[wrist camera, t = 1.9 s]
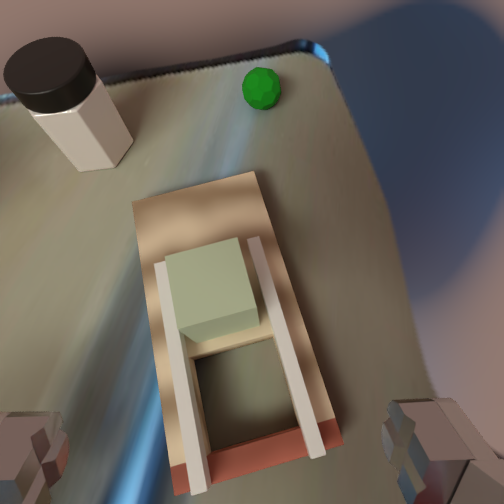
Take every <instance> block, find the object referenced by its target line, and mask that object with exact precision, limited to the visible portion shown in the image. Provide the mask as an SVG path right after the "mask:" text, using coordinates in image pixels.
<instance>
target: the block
mask: <svg viewBox="0 0 504 504" xmlns="http://www.w3.org/2000/svg"><path fill="white" fill-rule="evenodd" d="M165 262H166V267H167V273H168V278H169V284H170V290H171V295H172V301H173V307H174V312H175V318H176V324H177V329H178V330H179V331H181V332H182V333H183V334H185V335H186V336H187V337H189V338H190V339H191V340H193V341H194V342H196V343H200V342H204V341H207V340H211V339H215V338H218V337H222V336H225V335H229V334H232V333H236V332H240V331H243V330H247V329H250V328H254V327H257V326H260V324H259V318H258V312H257V306H256V303H255V299H254V296H253V292H252V288H251V285H250V281H249V278H248V274H247V271H246V267H245V263H244V260H243V256H242V253H241V249H240V245H239V242H238V238H237V237H236V238H232V239H228V240H224V241H220V242H217V243H213V244H209V245H205V246H202V247H198V248H194V249H190V250H186V251H183V252H179V253H175V254H171V255H168V256H165Z"/></svg>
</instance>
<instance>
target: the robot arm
mask: <svg viewBox="0 0 504 504" xmlns="http://www.w3.org/2000/svg"><path fill="white" fill-rule="evenodd" d="M387 411H388V413H389V416H390V417H389V418H388V419H387V420H386V421H385V422H384V423H383V427H382V432H381V433H382V444H383V448H384V451H385V454H386V457H387V459H388V461H389V463H390V464H391V465H392V466H393V467H394V468H396V469H397V470H398V471H399V475H398V480H397V482H398V484H399V487H400V489H401V491H402V493H403V496H404V498H405V500H406V502H407V504H504V459H498V457H497V456H496V455H495V453H494V452H493V451H492V449H491V448H490V447H489V445H488V444H487V443H486V441H485V440H484V439H483V437H482V436H481V435H480V433H479V432H478V431H477V430H476V428H475V427H474V425H473V424H472V423H471V421H470V420H469V419H468V417H467V416H466V415H465V413H464V412H463V410H462V409H461V408H460V406H459V405H458V404H457V403H456V401H454V400H453V399H451V398H432V399H429V398H423V399H401V400H392V401H391V402H390V403H389V405H388V408H387ZM62 423H63V419H62V416H61V414H60V412H0V504H50V502H51V500H52V497H51V493H50V489H49V488H50V487H51V486H53V485H54V484H55V483H56V482H57V481H58V480H59V479H60V478H61V476H62V474H63V472H64V469H65V467H66V464H67V459H68V454H69V439H68V436H67V434H66V433H65V432H63V431H62V430H61V429H60V427H61V425H62Z"/></svg>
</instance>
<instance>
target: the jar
mask: <svg viewBox="0 0 504 504" xmlns="http://www.w3.org/2000/svg"><path fill="white" fill-rule="evenodd" d="M3 75H4V81H5V83H6V84H7V86H8V87H9V89H10V90H11V91H12V92H13V93H14V94H15V96H16V97H17V98H18V99H19V100H20V102H21V103H22V104H23V105H24V106H25V107H26V108H27V109H28V110H29V112H30V113H31V115H32V117H33V118H34V119H35V120H36V121H37V123H38V124H39V125H40V126H41V127H42V128H43V130H44V131H45V132H46V133H47V134H48V136H49V137H50V138H51V139H52V140H53V141H54V143H55V144H56V145H57V146H58V147H59V148H60V150H61V151H62V152H63V153H64V154H65V156H66V157H67V158H68V159H69V160H70V161H71V163H72V164H73V165H74V166H75V167H76V168H77V170H78V171H79V172H85V171H93V170H101V169H109V168H115V167H116V166H117V164H118V163H119V162H120V160H121V159H122V157H123V156H124V154H125V153H126V152H127V150H128V149H129V147H130V146H131V145H132V143H133V139H132V137H131V135H130V133H129V131H128V129H127V127H126V126H125V124H124V122H123V120H122V118H121V116H120V114H119V113H118V111H117V109H116V107H115V105H114V103H113V101H112V100H111V98H110V96H109V94H108V92H107V90H106V88H105V86H104V85H103V83H102V81H101V80H100V78H99V77H98V76H97V75H96V73H95V70H94V68H93V67H92V65H91V63H90V61H89V59H88V57H87V55H86V54H85V52H84V50H83V48H82V47H81V46H80V45H79V44H78V43H77V42H75V41H73V40H71V39H68V38H63V37H48V38H43V39H39V40H36V41H33V42H31V43H29V44H27V45H25V46H23V47H22V48H20V49H19V50H17V51H16V52H15V53H14V54H13V55H12V56H11V57H10V59H9V60H8V61H7V63H6V65H5V68H4V73H3Z"/></svg>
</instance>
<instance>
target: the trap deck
mask: <svg viewBox="0 0 504 504" xmlns="http://www.w3.org/2000/svg"><path fill="white" fill-rule="evenodd" d="M132 205H133V212H134V219H135V226H136V233H137V240H138V247H139V254H140V261H141V268H142V275H143V282H144V288H145V295H146V302H147V309H148V316H149V323H150V330H151V337H152V344H153V351H154V358H155V365H156V371H157V378H158V385H159V392H160V399H161V406H162V413H163V420H164V427H165V434H166V441H167V448H168V454H169V461H170V468H171V475H172V482H173V489H174V496H176V495H179V494H183V493H186V492H189V491H190V484H189V478H188V472H187V466H186V460H185V453H184V447H183V441H182V435H181V429H180V422H179V416H178V410H177V404H176V398H175V392H174V385H173V379H172V373H171V367H170V361H169V354H168V348H167V342H166V336H165V330H164V323H163V317H162V311H161V305H160V299H159V292H158V286H157V280H156V274H155V268H154V264H155V263H159V262H162V261H165V256H168V255H171V254H175V253H179V252H183V251H186V250H190V249H194V248H198V247H202V246H205V245H209V244H213V243H217V242H220V241H224V240H228V239H232V238H236V237H237V238H238V242H239V245H240V249H241V253H242V256H243V260H244V263H245V267H246V271H247V274H248V278H249V281H250V285H251V288H252V292H253V296H254V299H255V303H256V306H257V312H258V318H259V324H260V326H257V327H254V328H250V329H247V330H243V331H240V332H236V333H232V334H229V335H225V336H222V337H218V338H215V339H211V340H207V341H204V342H200V343H196V342H194V341H193V340H191V339H190V338H189V337H187V336H186V335H185V334H184V337H185V342H186V348H187V353H188V359H189V364H190V369H191V375H192V380H193V386H194V391H195V397H196V402H197V408H198V413H199V418H200V424H201V429H202V435H203V440H204V446H205V451H206V457H207V462H208V467H209V473H210V478H211V484H215V483H219V482H222V481H225V480H229V479H232V478H235V477H238V476H242V475H245V474H248V473H252V472H255V471H258V470H261V469H265V468H268V467H271V466H275V465H278V464H281V463H284V462H288V461H291V460H294V459H298V458H301V457H304V456H307V455H308V452H307V448H306V445H305V441H304V438H303V434H302V431H301V427H300V424H299V420H298V417H297V414H296V410H295V407H294V403H293V400H292V396H291V393H290V389H289V386H288V383H287V379H286V376H285V372H284V369H283V365H282V362H281V358H280V355H279V352H278V348H277V345H276V341H275V338H274V334H273V331H272V327H271V324H270V320H269V317H268V314H267V310H266V307H265V303H264V300H263V296H262V293H261V289H260V286H259V283H258V279H257V276H256V272H255V269H254V265H253V262H252V258H251V255H250V252H249V248H248V242H247V239H249V238H253V237H257V236H259V238H260V241H261V244H262V247H263V251H264V254H265V257H266V260H267V264H268V267H269V270H270V273H271V277H272V280H273V283H274V286H275V289H276V293H277V296H278V299H279V302H280V306H281V309H282V312H283V315H284V319H285V322H286V325H287V328H288V332H289V335H290V338H291V341H292V345H293V348H294V351H295V354H296V357H297V361H298V364H299V367H300V370H301V374H302V377H303V380H304V383H305V387H306V390H307V393H308V396H309V400H310V403H311V406H312V409H313V413H314V416H315V419H316V422H317V425H318V429H319V432H320V435H321V438H322V442H323V445H324V448H325V450H327V449H330V448H334V447H337V446H340V445H344V443H343V440H342V437H341V433H340V430H339V427H338V424H337V421H336V418H335V415H334V412H333V409H332V406H331V403H330V400H329V397H328V394H327V391H326V388H325V385H324V382H323V379H322V376H321V373H320V370H319V367H318V364H317V361H316V358H315V355H314V352H313V349H312V346H311V343H310V340H309V337H308V334H307V331H306V328H305V325H304V322H303V319H302V316H301V313H300V309H299V306H298V303H297V300H296V297H295V294H294V291H293V288H292V285H291V282H290V279H289V276H288V273H287V270H286V267H285V264H284V261H283V258H282V255H281V252H280V249H279V246H278V243H277V240H276V237H275V234H274V231H273V228H272V225H271V222H270V219H269V216H268V213H267V210H266V207H265V204H264V201H263V198H262V195H261V192H260V188H259V185H258V182H257V179H256V176H255V173H254V171H252V172H248V173H244V174H240V175H236V176H232V177H228V178H224V179H220V180H216V181H212V182H208V183H204V184H200V185H196V186H193V187H189V188H185V189H181V190H177V191H173V192H169V193H165V194H161V195H157V196H153V197H149V198H145V199H141V200H137V201H133V202H132ZM271 338H273V339H274V343H275V346H276V349H277V353H278V356H279V360H280V363H281V367H282V370H283V374H284V377H285V381H286V384H287V388H288V391H289V395H290V398H291V402H292V405H293V408H294V412H295V415H296V419H297V422H298V426H296V427H293V428H290V429H286V430H283V431H280V432H276V433H273V434H270V435H266V436H263V437H259V438H256V439H253V440H249V441H246V442H243V443H239V444H236V445H233V446H229V447H226V448H223V449H219V450H216V451H213V452H211V447H210V442H209V436H208V431H207V426H206V420H205V415H204V410H203V405H202V399H201V394H200V389H199V384H198V378H197V373H196V368H195V362H194V360H197V359H200V358H204V357H207V356H211V355H214V354H218V353H221V352H225V351H228V350H232V349H236V348H239V347H243V346H246V345H250V344H253V343H257V342H260V341H264V340H267V339H271Z"/></svg>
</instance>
